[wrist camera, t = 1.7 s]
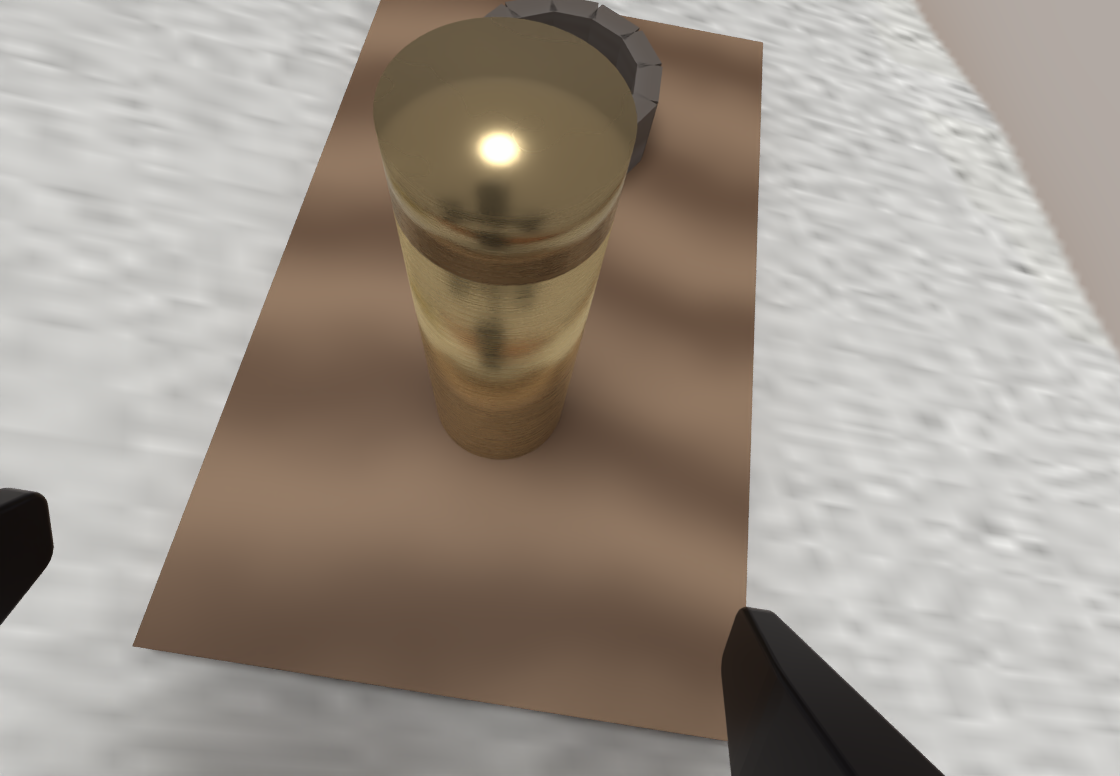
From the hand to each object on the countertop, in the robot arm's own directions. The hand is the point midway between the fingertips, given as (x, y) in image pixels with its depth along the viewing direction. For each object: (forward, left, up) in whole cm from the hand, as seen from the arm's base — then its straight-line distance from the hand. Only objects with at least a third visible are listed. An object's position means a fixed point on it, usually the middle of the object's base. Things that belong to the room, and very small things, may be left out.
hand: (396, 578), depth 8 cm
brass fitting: (+4, -6, -12) cm, 14 cm away
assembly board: (+7, -11, -14) cm, 19 cm away
